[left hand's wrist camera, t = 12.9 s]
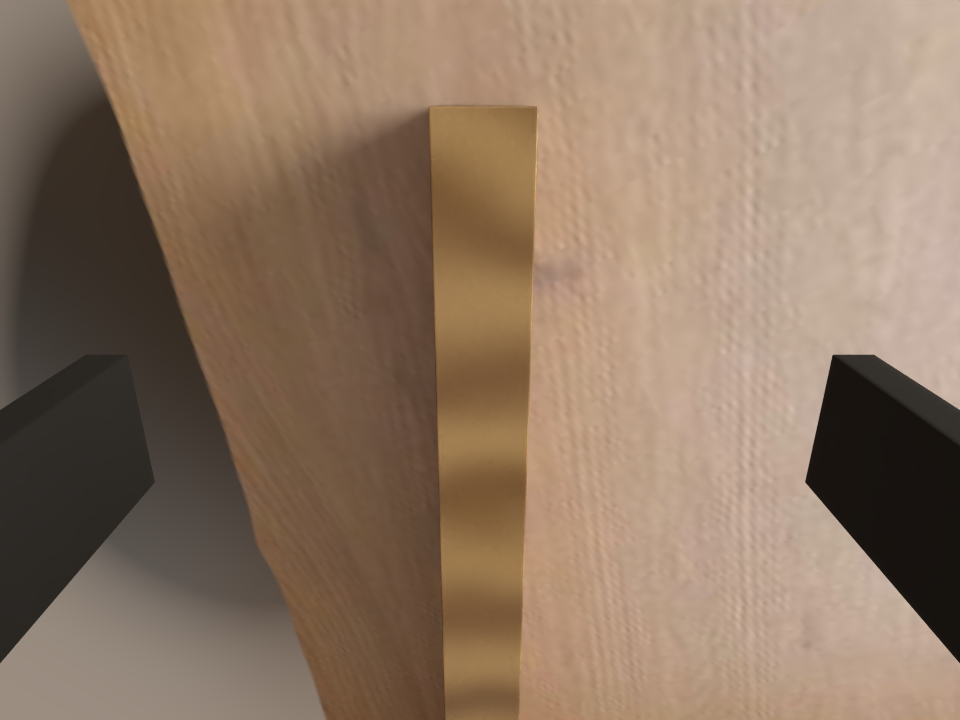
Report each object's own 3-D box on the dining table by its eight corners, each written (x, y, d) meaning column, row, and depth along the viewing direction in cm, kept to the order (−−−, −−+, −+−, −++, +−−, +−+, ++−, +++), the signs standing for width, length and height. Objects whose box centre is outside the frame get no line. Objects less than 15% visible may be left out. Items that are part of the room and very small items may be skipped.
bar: (438, 105, 33) (428, 106, 26) (526, 105, 33) (538, 106, 26) (453, 805, 53) (449, 909, 46) (508, 805, 53) (513, 909, 46)
